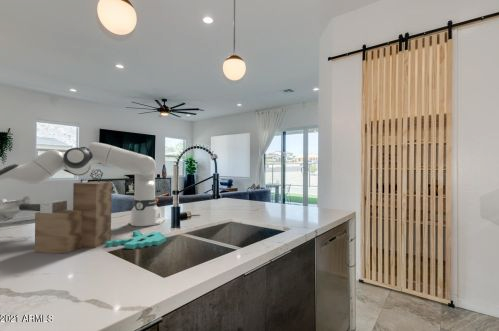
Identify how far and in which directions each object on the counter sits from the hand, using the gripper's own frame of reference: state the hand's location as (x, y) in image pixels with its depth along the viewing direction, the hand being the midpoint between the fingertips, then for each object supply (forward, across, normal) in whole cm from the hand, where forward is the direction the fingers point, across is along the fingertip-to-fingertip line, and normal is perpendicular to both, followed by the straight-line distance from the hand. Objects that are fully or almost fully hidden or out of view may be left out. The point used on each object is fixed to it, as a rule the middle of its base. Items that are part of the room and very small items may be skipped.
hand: (17, 199), depth 104 cm
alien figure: (+29, +16, +39) cm, 51 cm away
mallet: (+7, 0, +9) cm, 11 cm away
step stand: (+9, +6, +27) cm, 29 cm away
